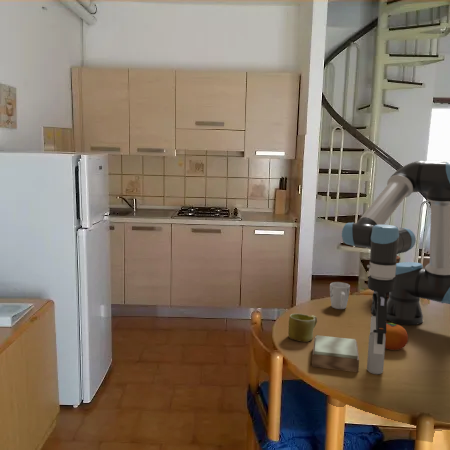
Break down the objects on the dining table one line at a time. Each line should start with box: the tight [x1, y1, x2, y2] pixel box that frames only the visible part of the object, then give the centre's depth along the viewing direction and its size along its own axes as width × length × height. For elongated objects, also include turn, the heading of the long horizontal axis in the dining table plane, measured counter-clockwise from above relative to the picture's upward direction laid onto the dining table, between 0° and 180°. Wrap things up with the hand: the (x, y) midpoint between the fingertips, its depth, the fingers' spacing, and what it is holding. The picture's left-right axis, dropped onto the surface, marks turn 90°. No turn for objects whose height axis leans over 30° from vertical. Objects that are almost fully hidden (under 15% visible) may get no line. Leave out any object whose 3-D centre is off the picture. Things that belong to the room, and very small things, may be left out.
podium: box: [311, 334, 360, 373], centre depth 146 cm, size 14×14×5 cm
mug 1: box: [288, 313, 318, 343], centre depth 164 cm, size 12×10×10 cm
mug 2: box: [329, 281, 351, 310], centre depth 196 cm, size 11×8×10 cm
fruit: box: [380, 322, 409, 351], centre depth 156 cm, size 11×10×8 cm
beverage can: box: [366, 331, 386, 375], centre depth 138 cm, size 5×5×12 cm
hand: (376, 344), depth 138 cm, fingers open, 13 cm apart
